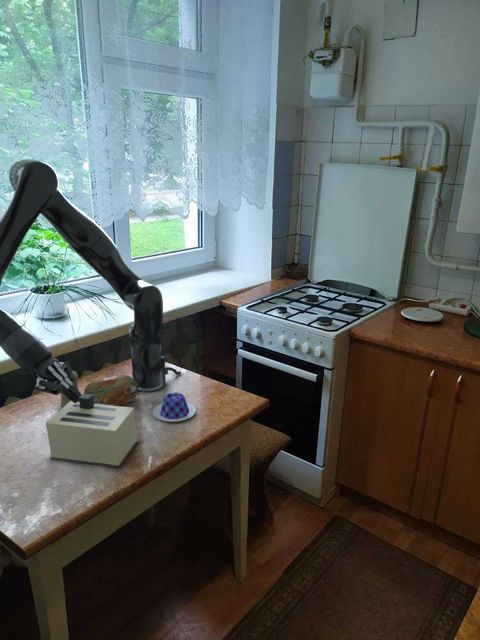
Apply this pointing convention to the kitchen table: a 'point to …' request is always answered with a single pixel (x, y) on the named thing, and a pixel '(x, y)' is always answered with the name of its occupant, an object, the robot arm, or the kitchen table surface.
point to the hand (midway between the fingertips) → (79, 400)
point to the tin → (113, 390)
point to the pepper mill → (63, 398)
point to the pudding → (174, 408)
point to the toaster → (92, 434)
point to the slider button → (86, 401)
